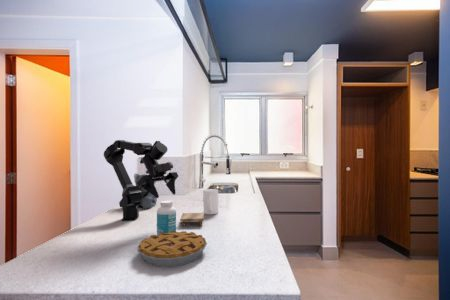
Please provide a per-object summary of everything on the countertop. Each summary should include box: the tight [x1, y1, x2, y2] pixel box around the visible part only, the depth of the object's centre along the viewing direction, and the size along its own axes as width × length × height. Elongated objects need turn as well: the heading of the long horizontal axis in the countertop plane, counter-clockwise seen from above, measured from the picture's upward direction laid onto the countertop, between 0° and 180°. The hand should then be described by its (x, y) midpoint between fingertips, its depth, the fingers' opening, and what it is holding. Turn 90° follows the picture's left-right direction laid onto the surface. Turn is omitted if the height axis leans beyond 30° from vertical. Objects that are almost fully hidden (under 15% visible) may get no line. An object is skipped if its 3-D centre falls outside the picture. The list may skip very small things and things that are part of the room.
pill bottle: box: [156, 200, 177, 235], centre depth 102 cm, size 8×7×14 cm
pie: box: [137, 230, 208, 268], centre depth 85 cm, size 22×22×5 cm
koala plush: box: [133, 172, 158, 209], centre depth 156 cm, size 17×18×20 cm
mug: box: [202, 188, 219, 215], centre depth 136 cm, size 8×12×12 cm
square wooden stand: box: [179, 212, 205, 227], centre depth 118 cm, size 10×10×4 cm
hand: (166, 195), depth 111 cm, fingers open, 9 cm apart
